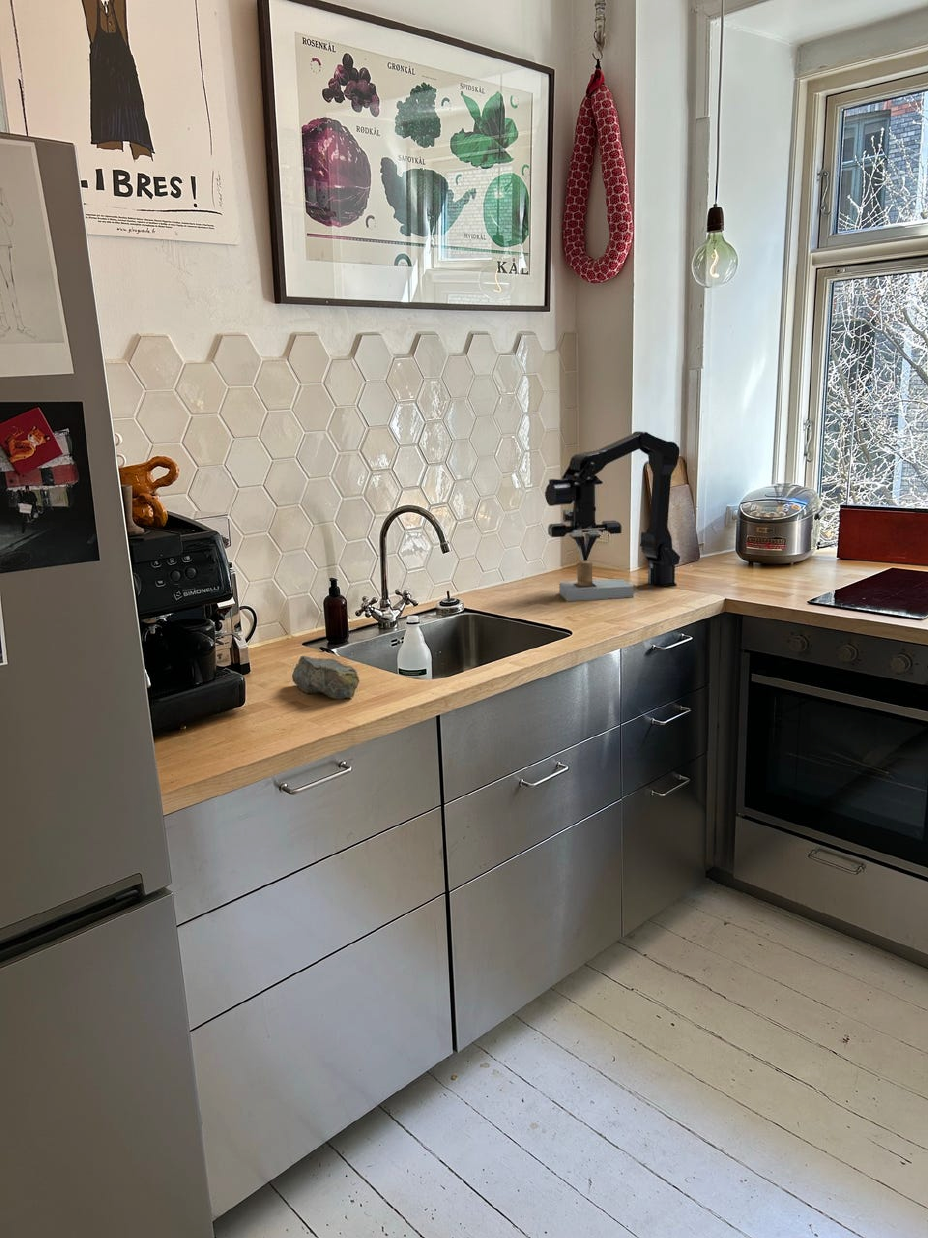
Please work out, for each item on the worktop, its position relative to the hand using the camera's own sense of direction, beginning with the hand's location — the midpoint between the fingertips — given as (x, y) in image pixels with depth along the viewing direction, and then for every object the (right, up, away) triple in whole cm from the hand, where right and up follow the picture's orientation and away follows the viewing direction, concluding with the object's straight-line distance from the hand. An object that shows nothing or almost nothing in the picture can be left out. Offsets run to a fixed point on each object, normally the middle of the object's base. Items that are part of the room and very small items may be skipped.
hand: (584, 560), depth 238 cm
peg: (0, -9, +2) cm, 10 cm away
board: (+3, -9, +3) cm, 10 cm away
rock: (-59, -30, -67) cm, 94 cm away
